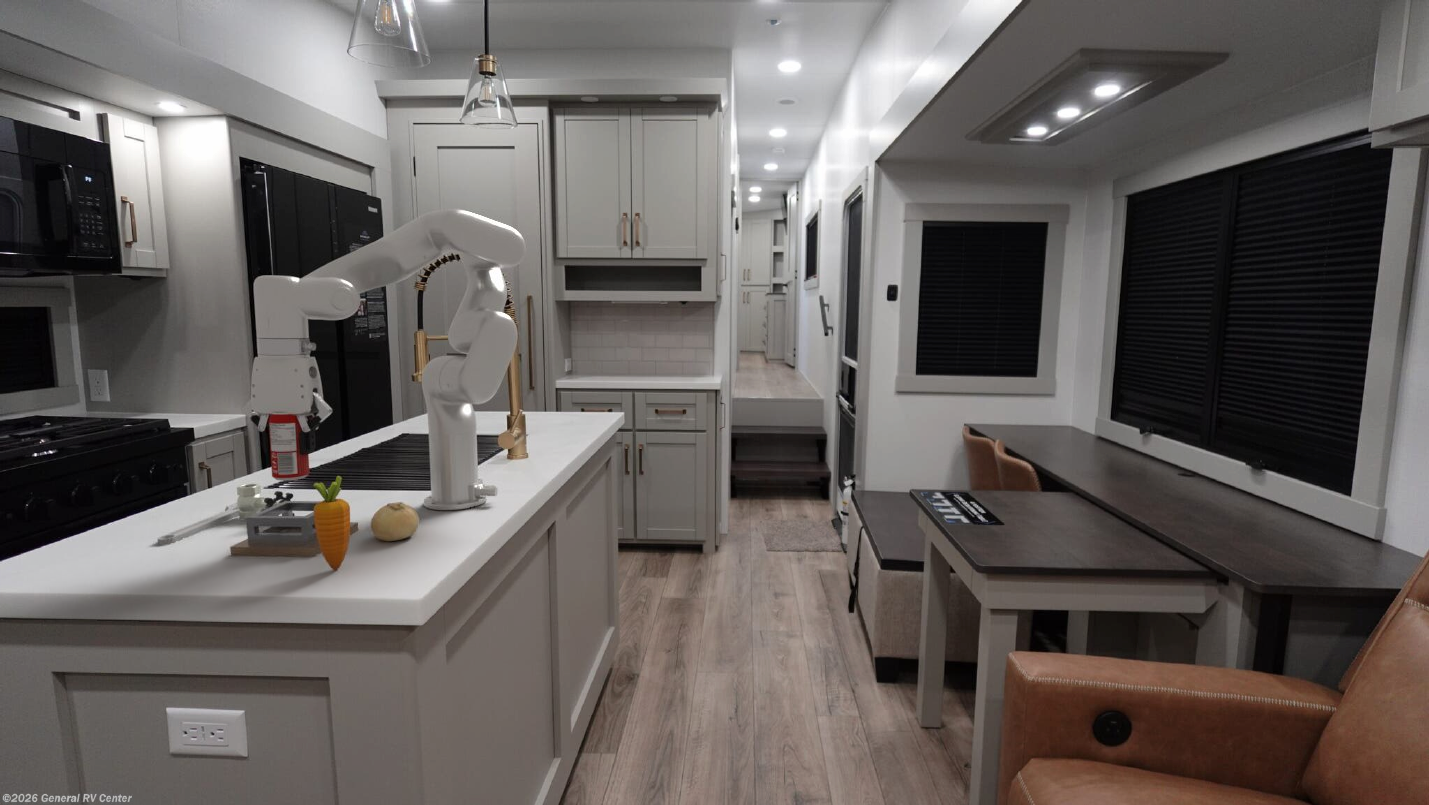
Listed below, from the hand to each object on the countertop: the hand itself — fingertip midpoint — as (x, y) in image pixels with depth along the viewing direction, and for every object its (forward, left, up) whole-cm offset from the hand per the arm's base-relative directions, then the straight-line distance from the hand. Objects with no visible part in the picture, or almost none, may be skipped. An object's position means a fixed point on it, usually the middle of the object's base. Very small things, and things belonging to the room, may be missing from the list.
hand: (289, 452), depth 118 cm
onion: (-16, -3, -17) cm, 23 cm away
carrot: (-14, +13, -16) cm, 25 cm away
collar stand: (0, 0, -16) cm, 16 cm away
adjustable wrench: (+23, -11, -17) cm, 31 cm away
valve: (+14, -13, -17) cm, 25 cm away
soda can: (0, 0, -5) cm, 5 cm away
